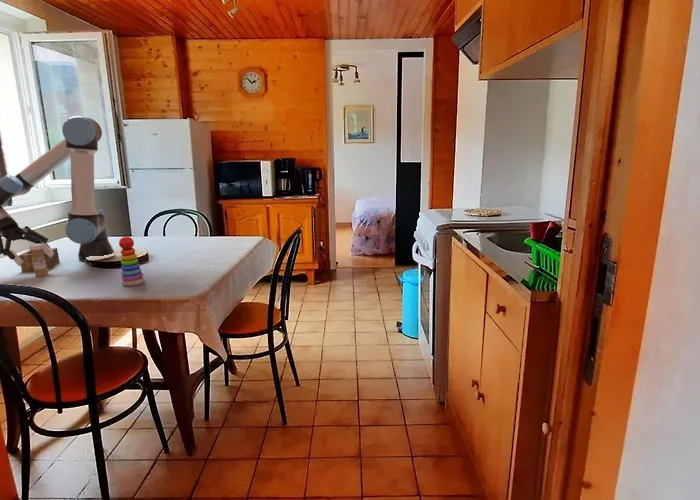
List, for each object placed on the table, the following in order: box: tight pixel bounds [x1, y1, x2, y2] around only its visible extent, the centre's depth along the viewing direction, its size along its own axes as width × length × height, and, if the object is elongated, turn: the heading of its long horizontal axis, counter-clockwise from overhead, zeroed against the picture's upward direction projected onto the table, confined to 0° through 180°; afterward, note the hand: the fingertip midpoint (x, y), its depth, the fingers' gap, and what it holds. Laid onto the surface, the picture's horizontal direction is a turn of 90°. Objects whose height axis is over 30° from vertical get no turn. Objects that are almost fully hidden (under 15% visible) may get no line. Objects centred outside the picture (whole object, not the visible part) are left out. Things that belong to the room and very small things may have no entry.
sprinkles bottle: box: [28, 243, 49, 278], centre depth 182 cm, size 5×5×14 cm
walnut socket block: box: [18, 247, 61, 272], centre depth 196 cm, size 11×11×7 cm
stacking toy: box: [118, 236, 145, 287], centre depth 169 cm, size 8×8×19 cm
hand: (37, 259), depth 182 cm, fingers open, 13 cm apart
